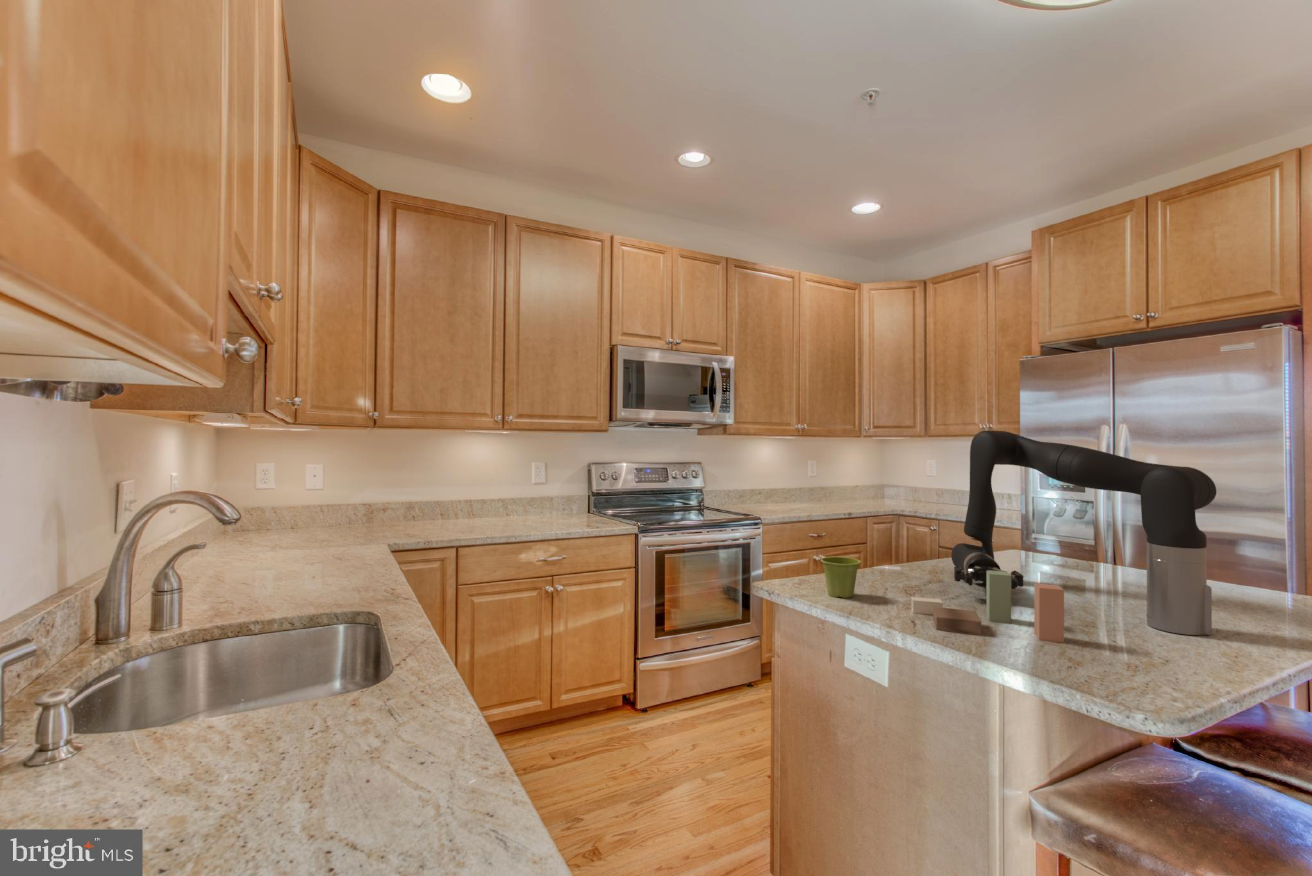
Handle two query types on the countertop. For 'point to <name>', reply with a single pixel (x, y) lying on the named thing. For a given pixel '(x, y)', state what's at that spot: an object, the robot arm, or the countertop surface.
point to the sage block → (998, 596)
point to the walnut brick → (956, 620)
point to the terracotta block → (1049, 612)
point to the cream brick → (925, 605)
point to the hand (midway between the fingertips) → (992, 582)
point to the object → (840, 575)
